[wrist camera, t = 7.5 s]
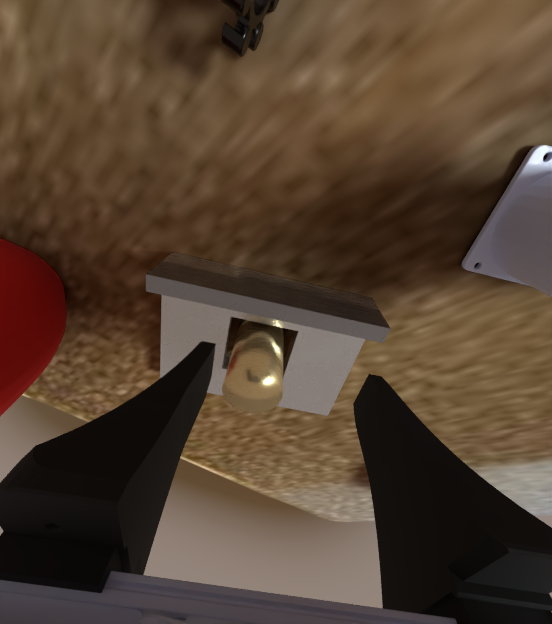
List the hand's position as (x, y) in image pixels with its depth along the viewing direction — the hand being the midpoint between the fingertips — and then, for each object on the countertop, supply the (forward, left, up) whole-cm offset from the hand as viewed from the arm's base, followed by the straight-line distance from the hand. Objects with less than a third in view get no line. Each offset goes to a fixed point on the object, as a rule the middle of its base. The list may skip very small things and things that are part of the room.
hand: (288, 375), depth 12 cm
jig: (+1, +6, -10) cm, 12 cm away
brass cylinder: (+1, +5, -10) cm, 12 cm away
